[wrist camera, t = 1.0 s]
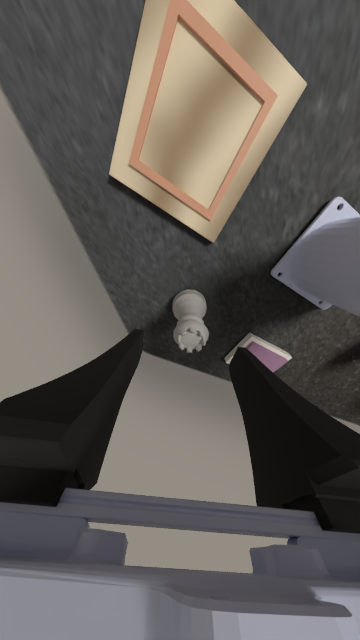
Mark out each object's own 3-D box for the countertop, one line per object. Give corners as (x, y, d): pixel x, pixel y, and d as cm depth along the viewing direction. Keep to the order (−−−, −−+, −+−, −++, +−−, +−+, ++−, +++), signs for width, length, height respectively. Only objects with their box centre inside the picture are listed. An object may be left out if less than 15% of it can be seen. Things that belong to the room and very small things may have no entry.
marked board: (299, 93, 11) (309, 81, 10) (212, 242, 16) (214, 242, 15) (164, -54, 8) (162, -89, 7) (113, 177, 13) (107, 173, 12)
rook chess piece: (197, 281, 18) (204, 310, 11) (211, 310, 20) (225, 350, 13) (166, 297, 19) (155, 333, 12) (182, 323, 21) (180, 366, 14)
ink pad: (288, 352, 23) (294, 359, 22) (260, 374, 26) (264, 382, 24) (249, 332, 21) (253, 338, 20) (224, 358, 24) (226, 365, 23)
